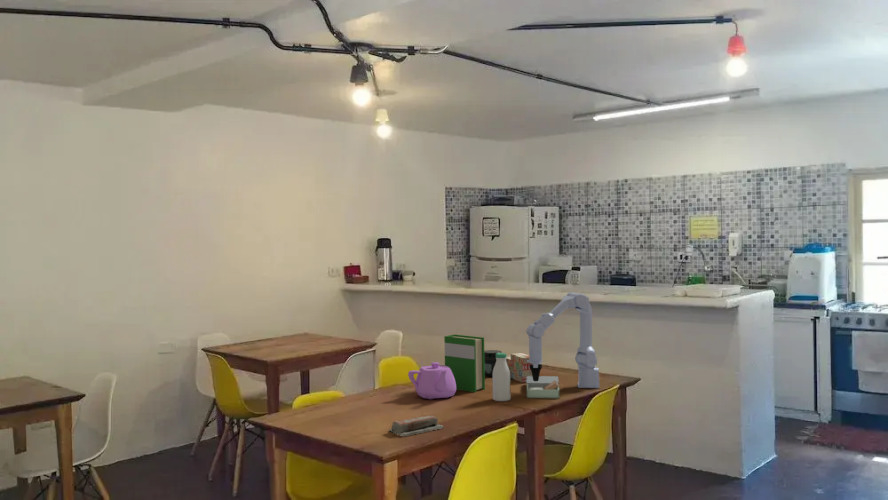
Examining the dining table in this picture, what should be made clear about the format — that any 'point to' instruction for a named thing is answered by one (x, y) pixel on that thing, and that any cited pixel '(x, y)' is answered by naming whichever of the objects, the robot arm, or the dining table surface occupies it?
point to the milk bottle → (501, 379)
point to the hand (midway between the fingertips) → (535, 380)
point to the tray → (542, 393)
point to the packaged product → (415, 425)
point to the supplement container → (490, 361)
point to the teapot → (434, 381)
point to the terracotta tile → (551, 386)
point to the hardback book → (466, 361)
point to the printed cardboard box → (519, 366)
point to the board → (541, 381)
